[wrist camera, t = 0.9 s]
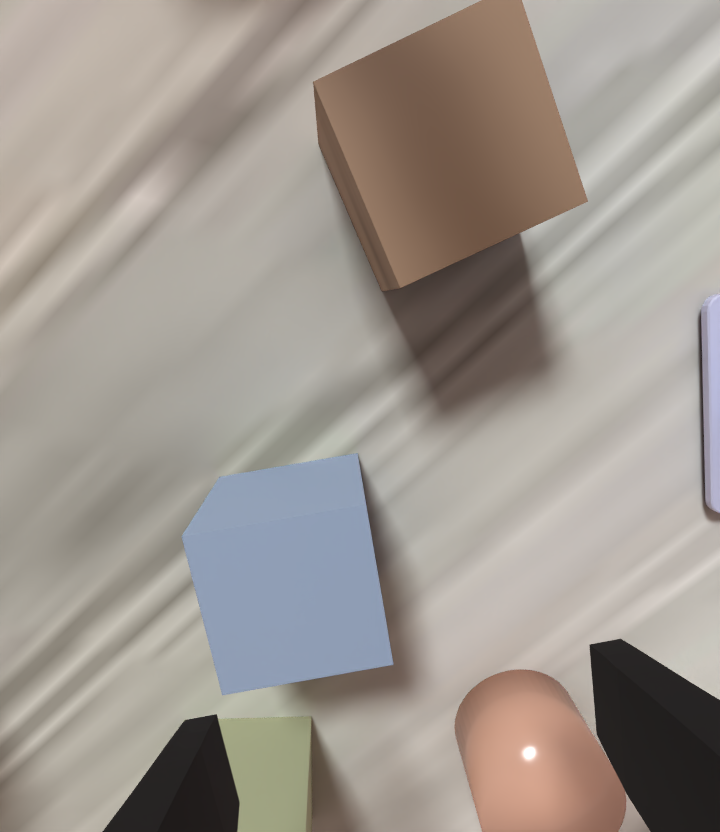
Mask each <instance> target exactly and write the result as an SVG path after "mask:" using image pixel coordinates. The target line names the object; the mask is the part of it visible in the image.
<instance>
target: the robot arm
mask: <svg viewBox="0 0 720 832" xmlns="http://www.w3.org/2000/svg"><path fill="white" fill-rule="evenodd" d="M701 326H702V370H703V413H704V457H705V500H706V504H707V506H708V507H709V508H710V509H712V510H714V511H715V512H718V513H720V294H715V295H712V296H710V297H709V298H707V299H706V300H705V302H704V303H703V305H702V310H701ZM590 656H591V668H592V681H593V693H594V705H595V718H596V730H597V736H598V738H599V740H600V742H601V744H602V746H603V748H604V750H605V752H606V754H607V756H608V758H609V760H610V762H611V764H612V766H613V768H614V770H615V772H616V774H617V776H618V778H619V780H620V782H621V784H622V786H623V788H624V789H625V791H626V793H627V795H628V796H629V798H630V800H631V801H632V803H633V804H634V806H635V808H636V809H637V811H638V812H639V814H640V815H641V817H642V819H643V820H644V822H645V823H646V825H647V827H648V828H649V830H650V831H651V832H720V700H719V699H717V698H715V697H714V696H712V695H710V694H709V693H707V692H705V691H704V690H702V689H700V688H699V687H697V686H696V685H694V684H692V683H691V682H689V681H688V680H686V679H684V678H683V677H681V676H680V675H678V674H676V673H675V672H673V671H672V670H670V669H668V668H667V667H665V666H664V665H662V664H660V663H659V662H657V661H656V660H654V659H653V658H651V657H649V656H648V655H646V654H645V653H643V652H641V651H640V650H638V649H637V648H635V647H633V646H632V645H630V644H628V643H627V642H625V641H623V640H622V639H617V640H612V641H607V642H601V643H596V644H591V645H590ZM239 806H240V801H239V797H238V794H237V790H236V786H235V782H234V778H233V775H232V771H231V767H230V763H229V759H228V756H227V752H226V748H225V744H224V740H223V737H222V733H221V729H220V725H219V721H218V718H217V714H216V715H210V716H205V717H200V718H194V719H189V720H185V721H184V722H183V723H182V725H181V726H180V727H179V729H178V730H177V731H176V733H175V734H174V735H173V737H172V738H171V739H170V741H169V742H168V744H167V745H166V746H165V748H164V749H163V750H162V752H161V753H160V755H159V756H158V757H157V759H156V760H155V762H154V763H153V764H152V766H151V767H150V768H149V770H148V771H147V773H146V774H145V775H144V777H143V778H142V780H141V781H140V782H139V784H138V785H137V786H136V788H135V789H134V791H133V792H132V793H131V795H130V796H129V797H128V799H127V800H126V801H125V803H124V804H123V805H122V807H121V808H120V809H119V811H118V812H117V813H116V815H115V816H114V817H113V819H112V820H111V821H110V823H109V824H108V825H107V827H106V828H105V829H104V831H103V832H237V830H238V818H239Z"/></svg>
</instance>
